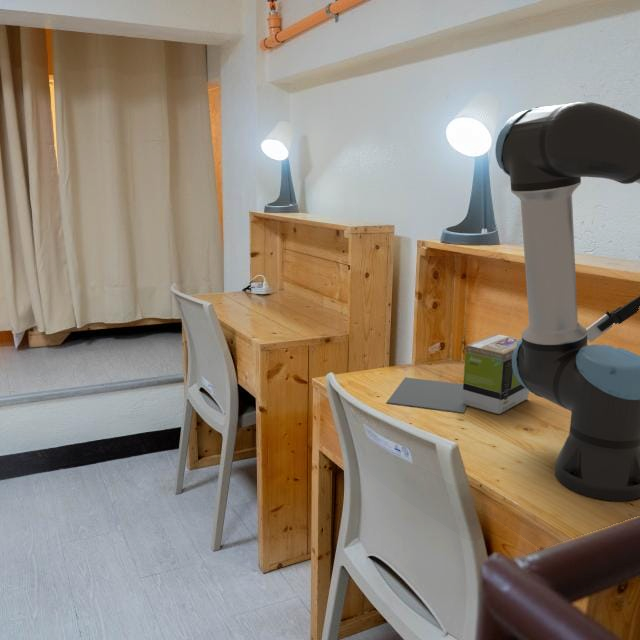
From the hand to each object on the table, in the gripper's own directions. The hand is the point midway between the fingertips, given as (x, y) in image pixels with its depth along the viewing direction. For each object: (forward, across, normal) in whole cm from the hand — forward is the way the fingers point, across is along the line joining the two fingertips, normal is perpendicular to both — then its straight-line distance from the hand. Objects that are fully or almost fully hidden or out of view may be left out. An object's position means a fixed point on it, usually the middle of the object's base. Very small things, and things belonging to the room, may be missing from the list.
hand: (586, 337), depth 140 cm
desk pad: (+36, -1, +12) cm, 38 cm away
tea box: (+26, -1, +1) cm, 26 cm away
